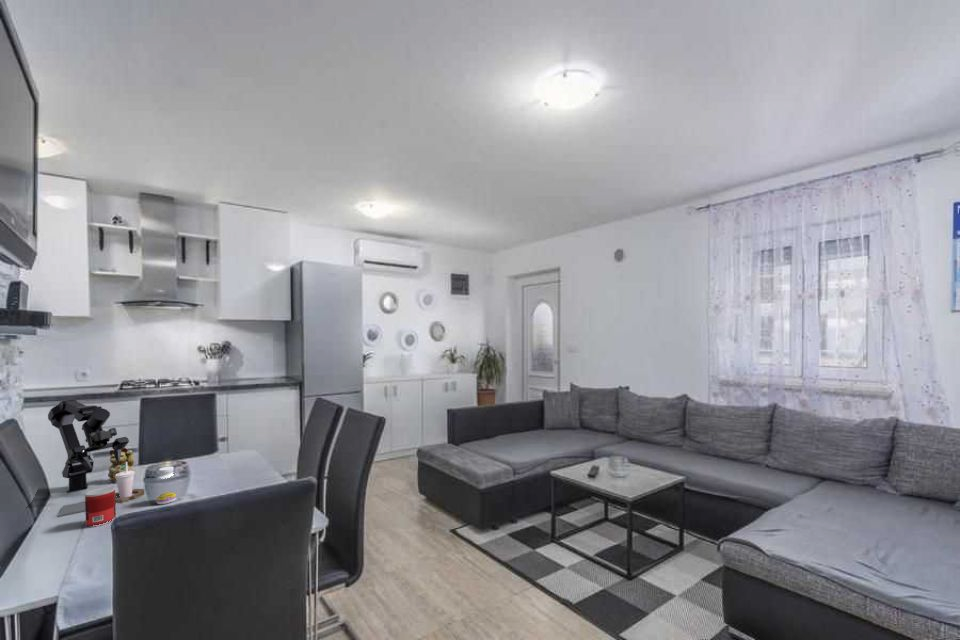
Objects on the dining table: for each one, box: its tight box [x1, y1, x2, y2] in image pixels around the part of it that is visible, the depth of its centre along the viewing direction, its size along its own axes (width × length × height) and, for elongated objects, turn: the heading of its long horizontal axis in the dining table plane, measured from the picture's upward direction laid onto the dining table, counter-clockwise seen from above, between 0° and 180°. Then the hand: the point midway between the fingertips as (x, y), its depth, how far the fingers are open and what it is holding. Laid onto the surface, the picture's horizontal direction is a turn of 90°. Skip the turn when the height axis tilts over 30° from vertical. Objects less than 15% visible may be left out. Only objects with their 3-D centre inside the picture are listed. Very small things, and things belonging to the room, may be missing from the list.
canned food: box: [84, 486, 117, 527], centre depth 153 cm, size 8×8×11 cm
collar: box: [115, 488, 145, 504], centre depth 177 cm, size 15×12×1 cm
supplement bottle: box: [155, 466, 178, 505], centre depth 170 cm, size 7×7×13 cm
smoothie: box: [115, 462, 136, 498], centre depth 177 cm, size 6×6×14 cm
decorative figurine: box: [107, 447, 136, 482], centre depth 199 cm, size 10×8×15 cm
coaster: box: [57, 500, 86, 517], centre depth 168 cm, size 12×12×1 cm
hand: (105, 465), depth 178 cm, fingers open, 9 cm apart
